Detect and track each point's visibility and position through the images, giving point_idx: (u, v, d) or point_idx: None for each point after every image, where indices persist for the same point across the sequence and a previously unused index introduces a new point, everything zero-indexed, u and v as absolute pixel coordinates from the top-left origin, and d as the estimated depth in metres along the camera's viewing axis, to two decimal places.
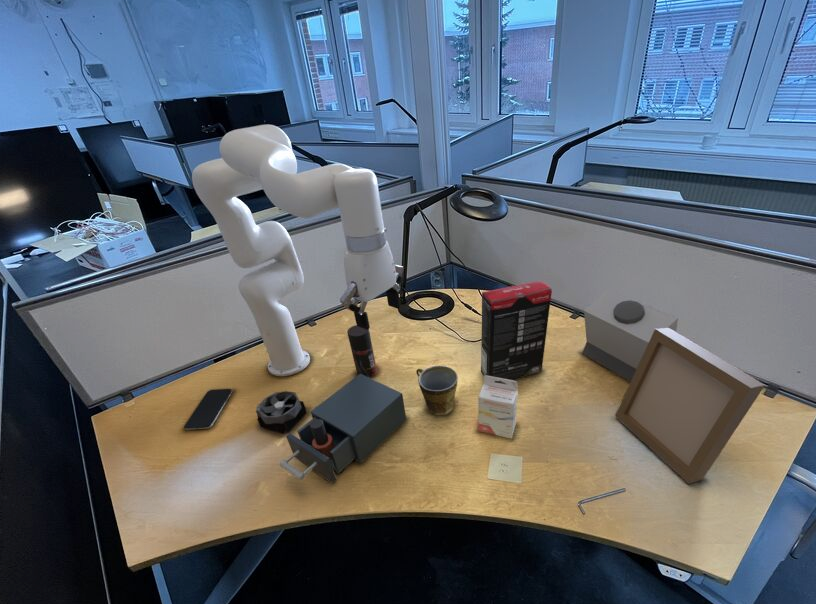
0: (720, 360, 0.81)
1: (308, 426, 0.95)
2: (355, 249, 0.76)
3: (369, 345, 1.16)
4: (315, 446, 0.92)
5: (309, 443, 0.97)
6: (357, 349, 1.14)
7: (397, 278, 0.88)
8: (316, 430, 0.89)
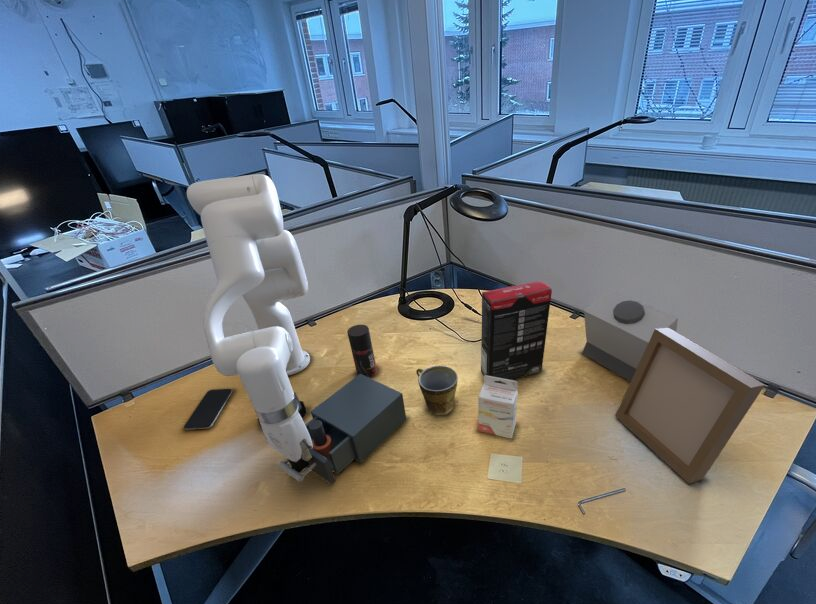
0: (720, 359, 0.81)
1: (307, 427, 0.95)
2: (292, 412, 0.78)
3: (369, 345, 1.16)
4: (314, 447, 0.91)
5: None
6: (357, 349, 1.14)
7: None
8: (314, 431, 0.89)
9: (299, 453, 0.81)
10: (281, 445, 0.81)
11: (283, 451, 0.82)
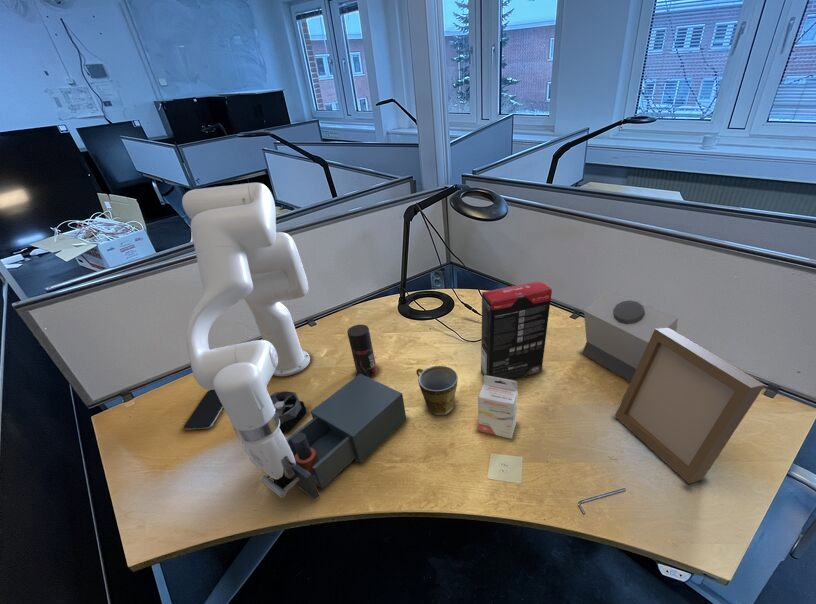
0: (720, 359, 0.81)
1: (291, 439, 0.92)
2: (273, 429, 0.76)
3: (369, 345, 1.16)
4: (298, 461, 0.88)
5: None
6: (357, 349, 1.14)
7: None
8: (298, 444, 0.86)
9: (281, 471, 0.78)
10: (262, 463, 0.78)
11: (264, 468, 0.79)
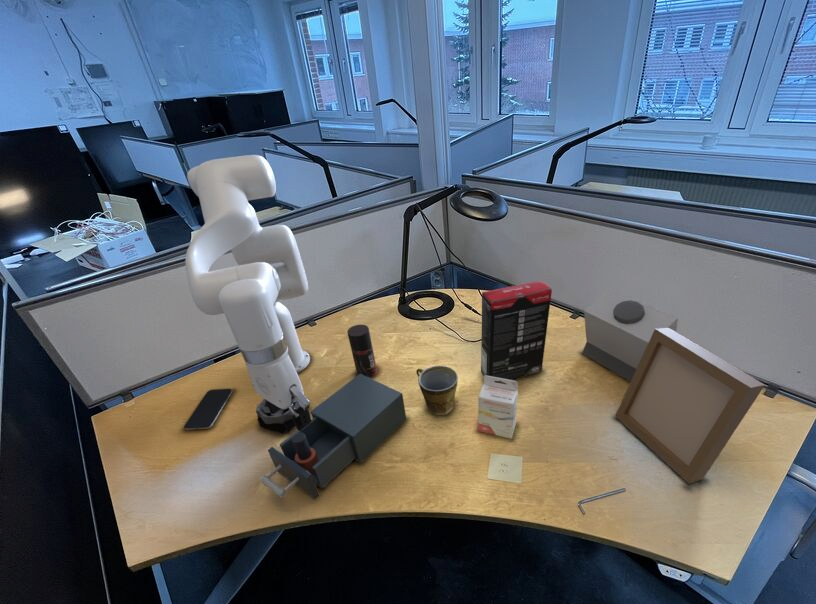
0: (720, 359, 0.81)
1: (291, 439, 0.92)
2: (281, 353, 0.72)
3: (369, 345, 1.16)
4: (298, 461, 0.88)
5: (292, 457, 0.94)
6: (357, 349, 1.14)
7: None
8: (298, 444, 0.86)
9: (289, 399, 0.75)
10: (269, 390, 0.75)
11: (271, 398, 0.76)
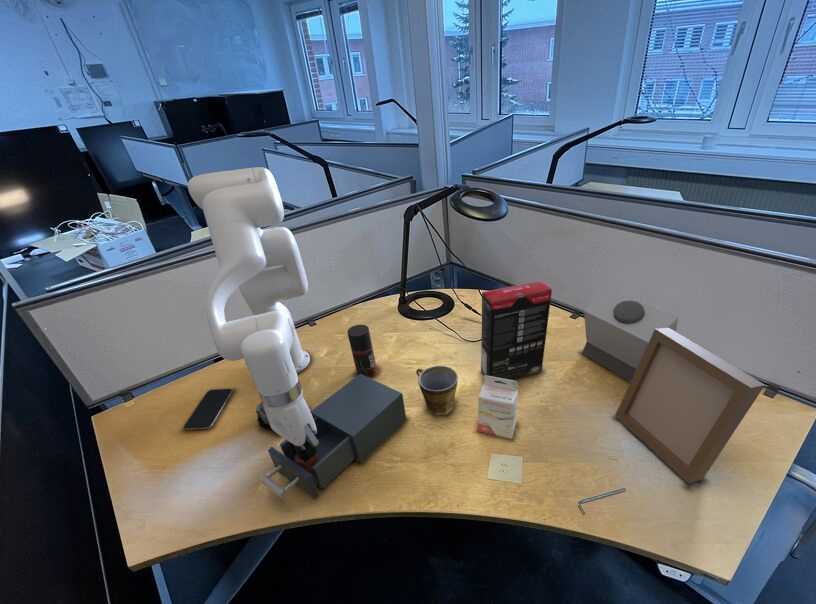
0: (720, 360, 0.81)
1: None
2: (296, 396, 0.78)
3: (369, 345, 1.16)
4: (298, 461, 0.88)
5: (292, 457, 0.94)
6: (357, 349, 1.14)
7: None
8: None
9: (303, 437, 0.81)
10: (285, 429, 0.80)
11: (287, 436, 0.82)
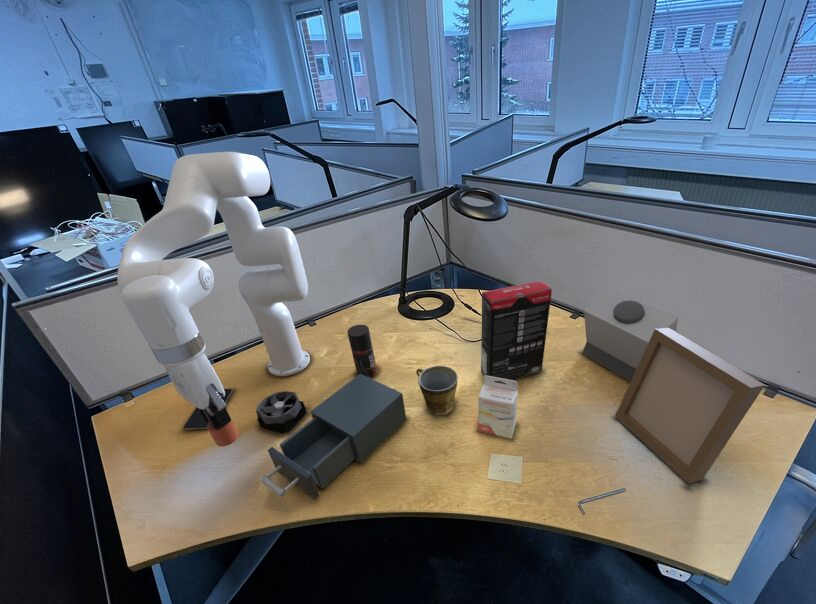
0: (720, 360, 0.81)
1: (291, 439, 0.92)
2: (195, 352, 0.70)
3: (369, 345, 1.16)
4: (209, 429, 0.81)
5: (292, 457, 0.94)
6: (357, 349, 1.14)
7: None
8: (206, 409, 0.78)
9: (206, 399, 0.73)
10: (186, 390, 0.73)
11: (189, 398, 0.74)
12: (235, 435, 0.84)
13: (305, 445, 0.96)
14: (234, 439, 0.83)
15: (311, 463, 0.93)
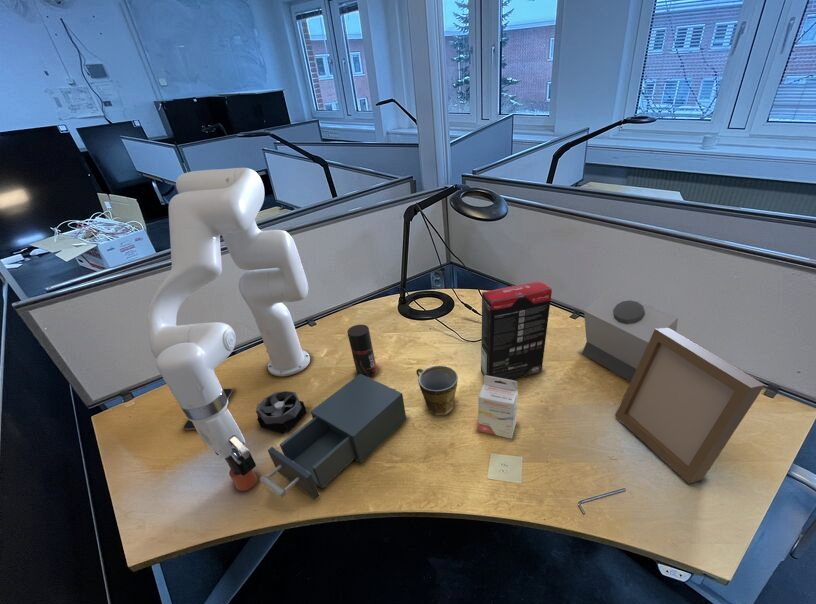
0: (720, 360, 0.81)
1: (291, 439, 0.92)
2: (219, 408, 0.78)
3: (369, 345, 1.16)
4: (231, 475, 0.89)
5: (292, 457, 0.94)
6: (357, 349, 1.14)
7: None
8: (229, 459, 0.86)
9: (229, 449, 0.81)
10: (210, 441, 0.80)
11: (213, 447, 0.81)
12: (254, 479, 0.92)
13: (305, 445, 0.96)
14: (253, 483, 0.92)
15: (311, 463, 0.93)
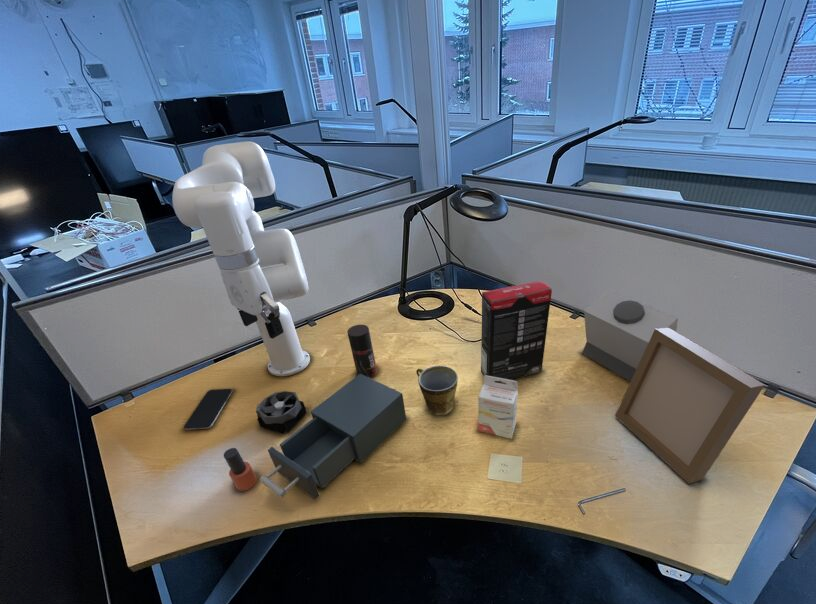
0: (720, 360, 0.81)
1: (291, 439, 0.92)
2: (251, 261, 0.81)
3: (369, 345, 1.16)
4: (231, 475, 0.89)
5: (292, 457, 0.94)
6: (357, 349, 1.14)
7: None
8: (229, 459, 0.86)
9: (260, 306, 0.84)
10: (242, 297, 0.84)
11: (245, 305, 0.85)
12: (254, 479, 0.92)
13: (305, 445, 0.96)
14: (253, 483, 0.92)
15: (311, 463, 0.93)
